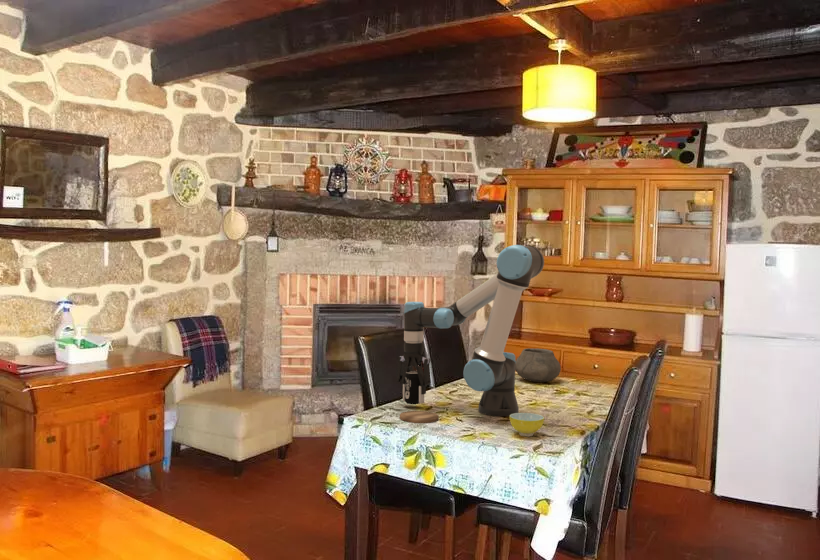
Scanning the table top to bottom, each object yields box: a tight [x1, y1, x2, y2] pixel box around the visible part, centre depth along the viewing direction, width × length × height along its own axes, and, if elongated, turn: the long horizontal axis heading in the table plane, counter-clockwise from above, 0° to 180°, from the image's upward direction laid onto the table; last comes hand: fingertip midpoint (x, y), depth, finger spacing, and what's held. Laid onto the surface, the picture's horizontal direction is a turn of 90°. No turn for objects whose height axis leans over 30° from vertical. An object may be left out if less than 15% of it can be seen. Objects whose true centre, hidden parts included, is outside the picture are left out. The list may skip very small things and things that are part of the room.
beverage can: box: [404, 370, 421, 405], centre depth 270 cm, size 7×7×12 cm
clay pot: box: [515, 347, 562, 383], centre depth 335 cm, size 22×21×15 cm
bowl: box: [509, 412, 545, 437], centre depth 234 cm, size 11×12×6 cm
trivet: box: [399, 410, 440, 424], centre depth 253 cm, size 14×14×1 cm
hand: (413, 401), depth 271 cm, fingers closed on beverage can, 7 cm apart
